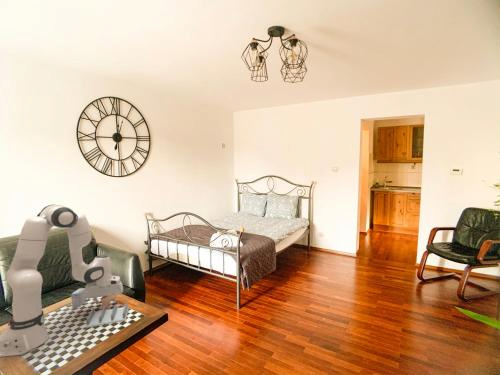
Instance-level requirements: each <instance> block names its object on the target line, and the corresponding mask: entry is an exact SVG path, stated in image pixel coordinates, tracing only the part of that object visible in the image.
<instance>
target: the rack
mask: <svg viewBox="0 0 500 375" xmlns="http://www.w3.org/2000/svg"><path fill="white" fill-rule="evenodd" d="M117 306H118V305H117V304H114V305H113V308H112V309H106V306H104V307H103V309H102V308H101V310H100V311H95V308H93V307H92V308H91V311H90V312H89V314H88V316H87V318H86V324H85V329H88V328H94V327H98V326H99V325H100V326H103V325H104V324H105V325H111V324H114V323H116V324H117V323H120V322H124V321H125V322H126V321H127V316H128V313H129V309H130V306H129V305H128V302H125V304H124V306H123V307H117ZM105 325H104V326H105ZM100 326H99V327H100Z"/></svg>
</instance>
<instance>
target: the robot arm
mask: <svg viewBox="0 0 500 375" xmlns="http://www.w3.org/2000/svg"><path fill="white" fill-rule="evenodd" d="M53 227H55V228H61V229H63V228H65V230H66V234H67V238H68V254H69V255H68V256H69V261H70V267H69V277H70V278H71V279H72V280H73V281H78V282H82V283H86V285H85V287H84V288H85V289H86V298H87V300H90V299H92V300H93V301H94V302H95V305H99V304H100V300H98V299H97V298H102V297H103V296H114V297H112V302H116V300H117V299H116V298H117V296H118V295H121V294H122V293H123V292H124V286H123V282H122V281H121V276H119V275H118V276H117V275H113V274H112V271H111V270H112V262H111V258H110V256H107V255H97V256H94V259H93V260H92V261H91V262H90V263H89V264H87V263H85V262H84V259H83V258H84V257H83V251H82V250H83V248H84V247H86V246H88V245H89V244H90V243H91V242H92V239H93V238H92V230H91V226H90V224H89V221H88V219H87V217H86V215H85V214H84V213H82V212H75V211H74V210H72V209H71V208H69V207H65V206H64V205H60V204H49V205H46V206H45V207H44V208H42V209H41V211H40V212H39V213H38V214H37V215H36V216H32V217H28V218H27V219H25V222H24V224H23V226H22V228H21V231H20V234H19V237H18V241H17V245H16V249H15V253H14V256H13V258H12V259H11V260H12V261H11V263H10V265H9V268H8V270H7V271H6V275H5V280H6V282H7V284H8V285H9V286H10V288H11V291H12V303H11V307H12V309H11V310H12V319H11V320H9V322H8V323H7V328H6V330H5V331H3V332H2V333H1V334H0V358H2V357H14V356H22V355H25V354H27V353H28V352H29V351H31V350H34V349H36V348H38V347H40V346H41V345H43V344H44V343H46V342H47V340H49V338H50V334H49V332H48V330H47V328H46V324H45V314H44V313H45V312H44V310H43V305H42V288H43V287H42V286H43V282H44V280H43V277H42V274H41V273H40V271H38V265H39V263H40V261H41V259H42V257H43V256H44V255H45V249H46V246H47V241H48V236H49V233H50V231H51V229H53Z"/></svg>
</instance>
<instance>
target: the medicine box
mask: <svg viewBox="0 0 500 375" xmlns="http://www.w3.org/2000/svg"><path fill="white" fill-rule="evenodd" d="M86 291H87V290H86V289H85V287H84V288H83V287H82V288H78V289H77V290H75V291H73V292H72V293H71V295H70V297H71V298H70V299H71V308H80V307H81V306H82V305H83V304H84V303H85V302H87V300H88V299H87V298H86Z"/></svg>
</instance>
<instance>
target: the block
mask: <svg viewBox="0 0 500 375" xmlns="http://www.w3.org/2000/svg"><path fill="white" fill-rule="evenodd" d="M110 296H111V295H110ZM110 296H103V297H101V299H100V301H101V310H102V309H103V307H104V306H106V310H109V307H110V304H111V297H110Z"/></svg>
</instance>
